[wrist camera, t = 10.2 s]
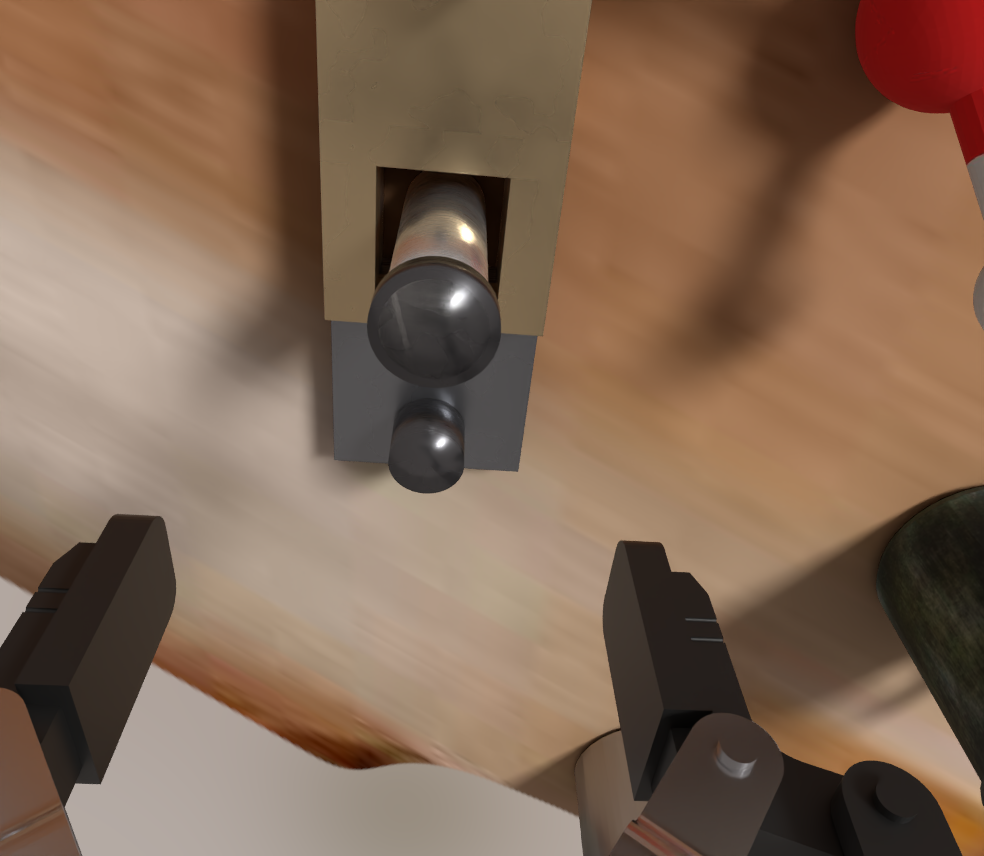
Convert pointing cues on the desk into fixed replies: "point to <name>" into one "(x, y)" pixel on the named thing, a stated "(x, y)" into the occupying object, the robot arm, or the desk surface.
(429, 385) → the pin
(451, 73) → the two-tone base plate
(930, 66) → the molecular model
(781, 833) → the robot arm
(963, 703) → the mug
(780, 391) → the desk surface
